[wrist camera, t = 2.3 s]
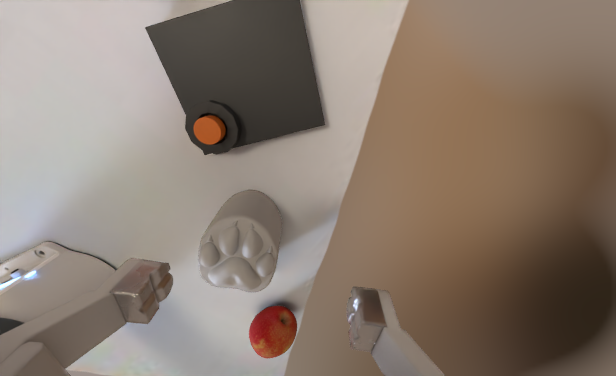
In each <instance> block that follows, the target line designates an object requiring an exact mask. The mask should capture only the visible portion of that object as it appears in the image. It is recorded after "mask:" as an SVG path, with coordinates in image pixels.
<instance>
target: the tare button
mask: <svg viewBox="0 0 616 376" xmlns="http://www.w3.org/2000/svg"><path fill="white" fill-rule="evenodd" d="M225 133H226V128H225V125H224V123H223V122H222V120H221V119H219V118H218V117H216V116H212V115H208V116H205V117H202V118H199V119H198V120H197V121H196V122H195V124H194V134H195V136H196V137H197V139H198V140H199V141H201V142H202V143H204V144H208V145H212V144H215V143H217V142H218V141H220V140H221V139H223V137H224V136H225Z"/></svg>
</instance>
